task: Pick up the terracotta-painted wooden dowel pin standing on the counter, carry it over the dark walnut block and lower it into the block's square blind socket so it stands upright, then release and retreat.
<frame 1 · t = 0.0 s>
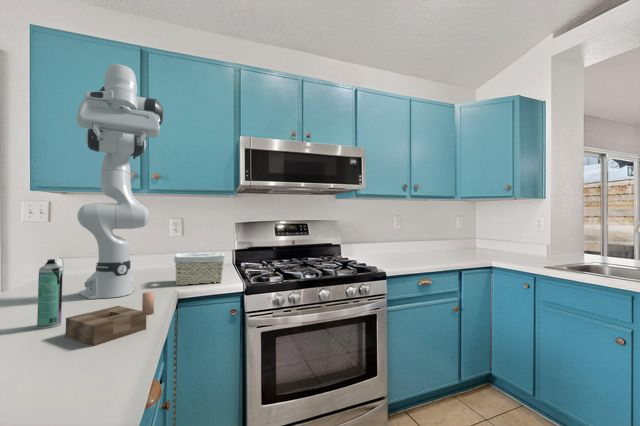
hand: (120, 141, 89), 54 cm above the counter, tool tilted 30°, fingers open, 8 cm apart
spray can: (49, 326, 94), on the counter
storage basket: (199, 282, 162), on the counter
pin: (147, 313, 107), on the counter
bore block: (107, 332, 89), on the counter
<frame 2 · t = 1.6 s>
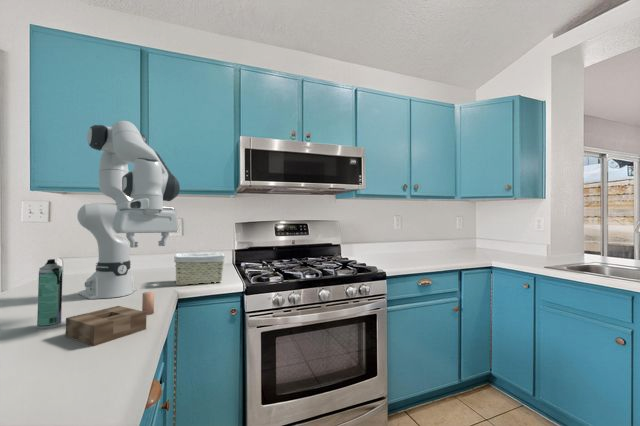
hand: (148, 246, 104), 23 cm above the counter, tool pointing down, fingers open, 8 cm apart
nothing on the counter moved.
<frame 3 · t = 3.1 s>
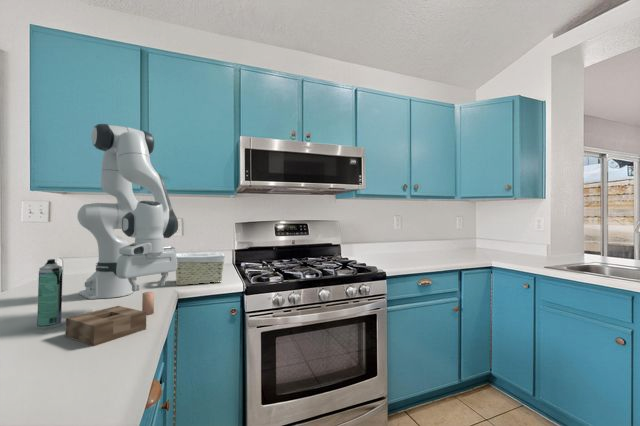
hand: (149, 288, 107), 9 cm above the counter, tool pointing down, fingers open, 8 cm apart
nothing on the counter moved.
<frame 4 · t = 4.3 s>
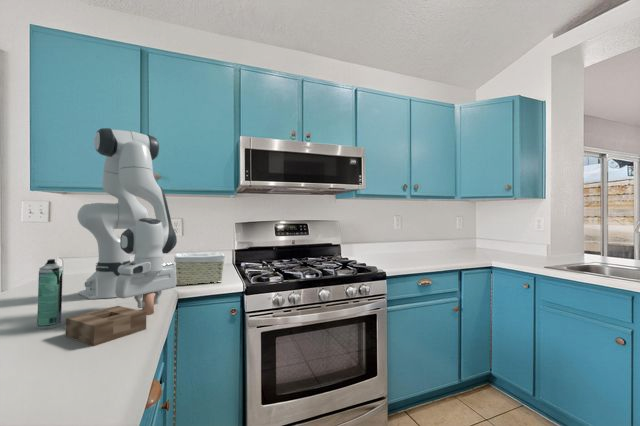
hand: (148, 305, 107), 3 cm above the counter, tool pointing down, fingers closed on pin, 3 cm apart
pin: (147, 313, 107), on the counter, touching gripper
everything else where it was.
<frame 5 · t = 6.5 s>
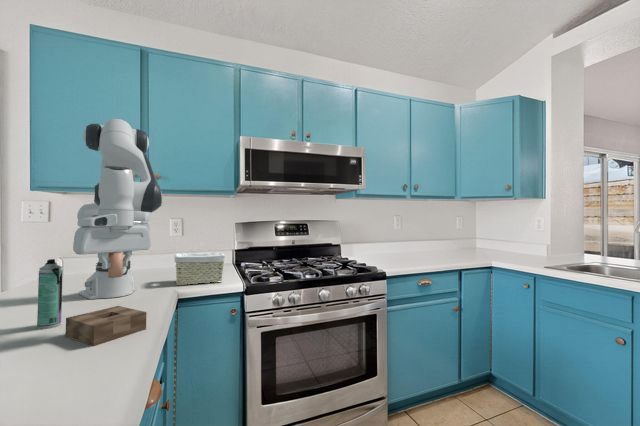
hand: (115, 267, 91), 18 cm above the counter, tool pointing down, fingers closed on pin, 3 cm apart
pin: (115, 276, 91), point 16 cm above the counter, touching gripper
everything else where it was.
when the fingers open (6 cm above the counter, at t = 8.5 s): pin drops 2 cm, resting on bore block.
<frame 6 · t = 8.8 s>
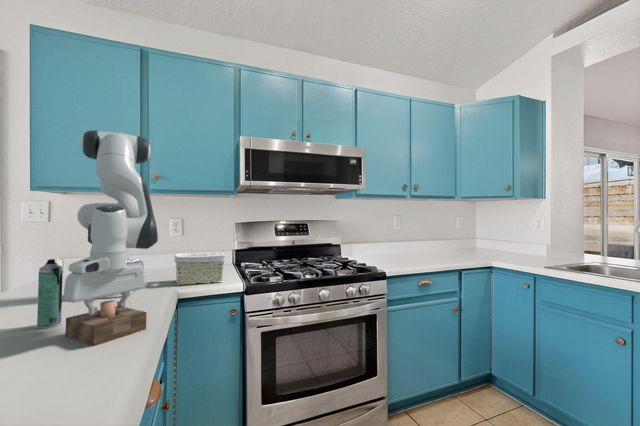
hand: (107, 311, 89), 6 cm above the counter, tool pointing down, fingers open, 6 cm apart
pin: (107, 326, 89), point 2 cm above the counter, touching bore block
everything else where it was.
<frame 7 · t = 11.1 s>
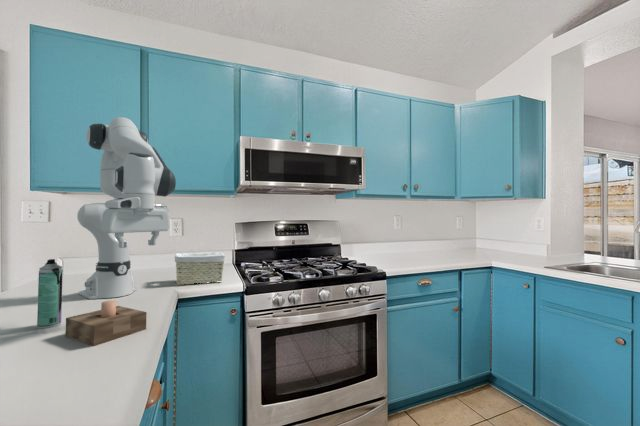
hand: (137, 246, 100), 24 cm above the counter, tool pointing down, fingers open, 8 cm apart
nothing on the counter moved.
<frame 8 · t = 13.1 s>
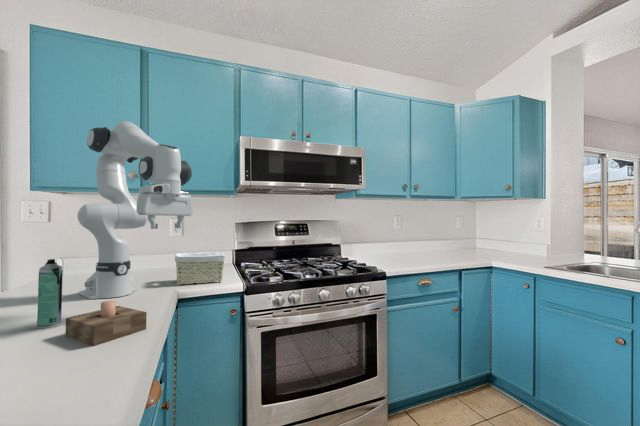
hand: (166, 228, 112), 29 cm above the counter, tool pointing down, fingers open, 8 cm apart
at the end: pin 0.2 cm off-centre on the bore block, point 1.5 cm above the bore block's base; pin tilted 1°; the gripper is holding nothing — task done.
